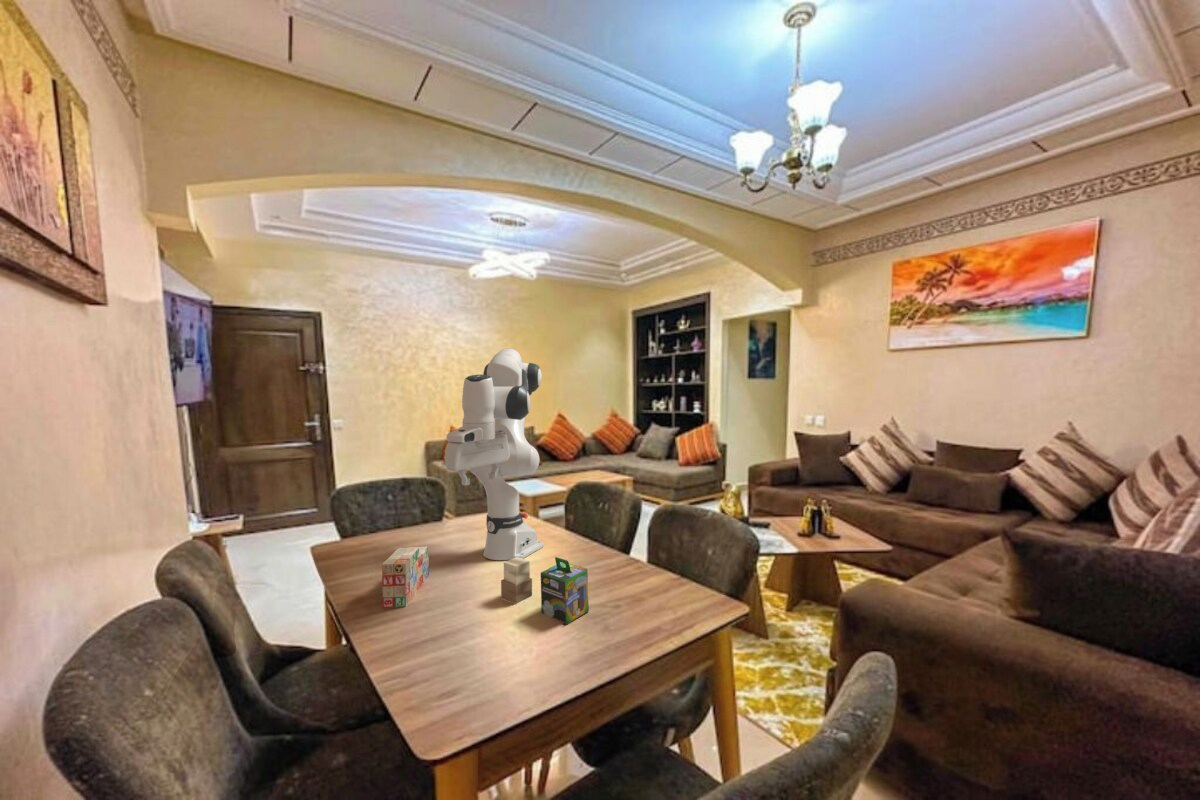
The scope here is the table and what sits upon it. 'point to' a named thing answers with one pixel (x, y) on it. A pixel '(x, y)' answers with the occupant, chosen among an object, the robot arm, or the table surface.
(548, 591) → the chalk box
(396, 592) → the stack of blocks
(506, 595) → the walnut block
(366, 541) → the table surface
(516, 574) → the birch cube
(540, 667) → the table surface
